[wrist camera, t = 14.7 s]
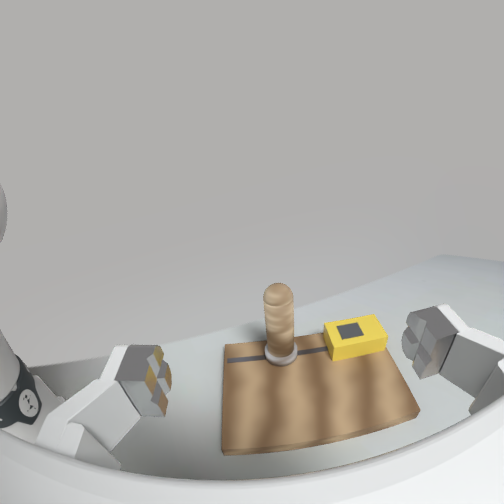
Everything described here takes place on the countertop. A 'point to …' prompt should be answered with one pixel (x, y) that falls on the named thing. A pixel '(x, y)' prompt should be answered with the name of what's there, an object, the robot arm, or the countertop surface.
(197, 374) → the countertop surface
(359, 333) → the block
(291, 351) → the wooden dome-topped peg
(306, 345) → the plywood board
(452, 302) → the countertop surface
